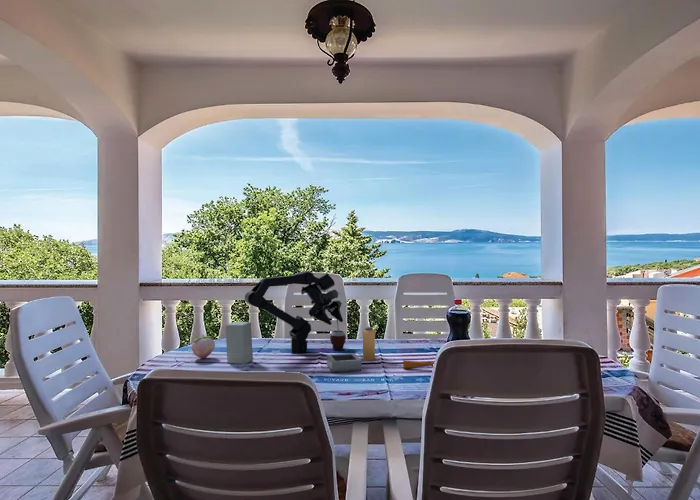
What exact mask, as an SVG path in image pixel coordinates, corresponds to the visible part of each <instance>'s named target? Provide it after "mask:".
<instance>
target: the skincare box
mask: <svg viewBox="0 0 700 500" xmlns="http://www.w3.org/2000/svg"><path fill="white" fill-rule="evenodd" d="M252 333H253V332H252V322H250V321H233V322H229V323H227V324H225V340H226V341H225V342H226V344H225V345H226V359H227V362H226V363H227V364H239V365H246V364H247V363H250V362H253V359H254V356H253V355H254V354H253V337H252Z"/></svg>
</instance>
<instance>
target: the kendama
mask: <svg viewBox="0 0 700 500" xmlns="http://www.w3.org/2000/svg"><path fill="white" fill-rule="evenodd" d="M434 361H435V360H434ZM434 361H431V362H430V361H429V362H427V361H425V362H424V361H415V360H406V359H405V360H402V368H403V370H409V369H417V368H423V367H433V364H434Z"/></svg>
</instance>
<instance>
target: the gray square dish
mask: <svg viewBox="0 0 700 500" xmlns="http://www.w3.org/2000/svg"><path fill="white" fill-rule="evenodd" d="M326 366H327V367H328V369H329V370H330V372H331V373H332V374H337V373H338V374H340V373H351V372H352V373H354V372H362V359H361V358H360V357H359V356H358V355H357V354H356V353H339V354H326Z"/></svg>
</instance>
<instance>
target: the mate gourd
mask: <svg viewBox="0 0 700 500" xmlns="http://www.w3.org/2000/svg"><path fill="white" fill-rule="evenodd" d="M336 327H337V330H333V331H331V333H330V335H329V340H330V343H331V345H332V350H333V351H337V350H339V351H344V345H345V343H346V340H347V339H346V332H345V331H344V330H340V329H339V320H337V319H336Z"/></svg>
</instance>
